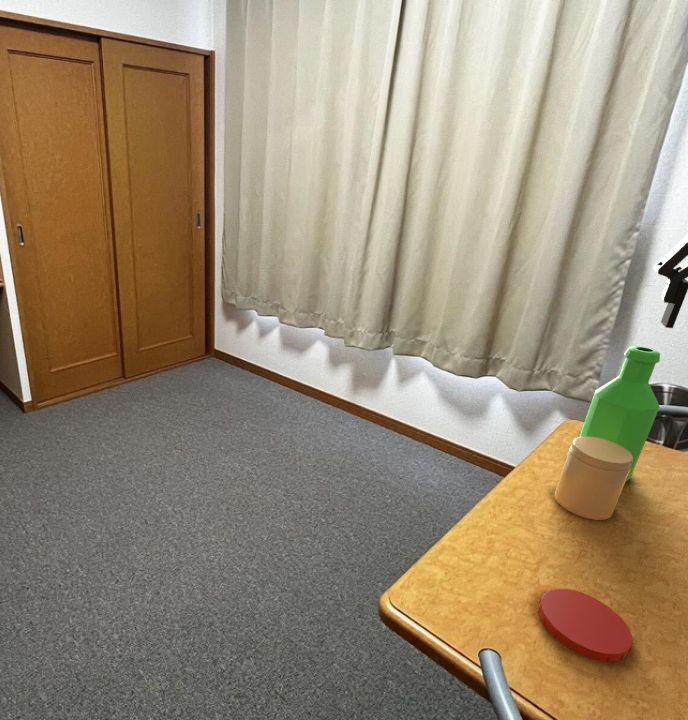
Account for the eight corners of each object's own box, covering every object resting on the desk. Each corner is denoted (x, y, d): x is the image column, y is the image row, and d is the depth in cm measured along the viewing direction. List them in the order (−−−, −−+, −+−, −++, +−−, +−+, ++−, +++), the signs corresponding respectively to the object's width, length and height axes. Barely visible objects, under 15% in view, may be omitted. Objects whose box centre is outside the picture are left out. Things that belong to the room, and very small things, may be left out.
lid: (648, 658, 57) (653, 648, 56) (578, 669, 56) (582, 659, 55) (582, 594, 65) (586, 584, 64) (521, 602, 64) (524, 592, 63)
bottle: (565, 471, 90) (607, 349, 80) (575, 452, 95) (615, 336, 85) (625, 493, 84) (678, 364, 74) (632, 471, 89) (682, 348, 79)
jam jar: (607, 499, 82) (629, 443, 78) (615, 528, 76) (639, 469, 72) (551, 485, 86) (569, 431, 82) (555, 512, 80) (575, 454, 75)
